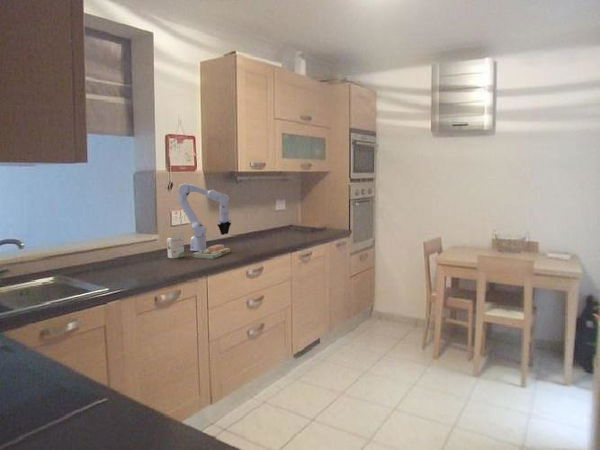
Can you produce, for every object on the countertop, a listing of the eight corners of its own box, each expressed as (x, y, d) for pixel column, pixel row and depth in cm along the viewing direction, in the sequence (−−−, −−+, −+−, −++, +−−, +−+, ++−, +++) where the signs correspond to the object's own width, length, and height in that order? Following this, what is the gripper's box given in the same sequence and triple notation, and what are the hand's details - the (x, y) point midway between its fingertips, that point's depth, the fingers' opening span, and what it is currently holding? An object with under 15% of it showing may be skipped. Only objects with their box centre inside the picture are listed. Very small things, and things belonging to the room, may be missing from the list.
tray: (192, 257, 264) (192, 253, 263) (201, 254, 273) (201, 250, 272) (213, 258, 259) (213, 255, 259) (221, 255, 268) (221, 252, 268)
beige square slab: (202, 254, 273) (202, 250, 272) (212, 250, 284) (211, 247, 284) (220, 255, 269) (220, 251, 268) (230, 252, 280) (230, 248, 279)
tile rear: (213, 248, 277) (213, 245, 277) (217, 247, 282) (217, 244, 282) (220, 249, 276) (220, 246, 275) (224, 248, 280) (224, 244, 280)
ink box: (180, 255, 270) (179, 231, 268) (184, 256, 266) (183, 232, 264) (167, 257, 264) (166, 232, 262) (171, 258, 260) (170, 233, 258)
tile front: (208, 250, 272) (208, 247, 271) (212, 249, 276) (212, 246, 276) (215, 251, 270) (215, 247, 270) (219, 249, 275) (219, 246, 274)
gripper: (224, 214, 275) (224, 236, 277) (234, 212, 289) (235, 232, 291) (214, 214, 278) (214, 235, 279) (225, 211, 291) (225, 232, 293)
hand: (224, 234), depth 285 cm, fingers open, 4 cm apart
